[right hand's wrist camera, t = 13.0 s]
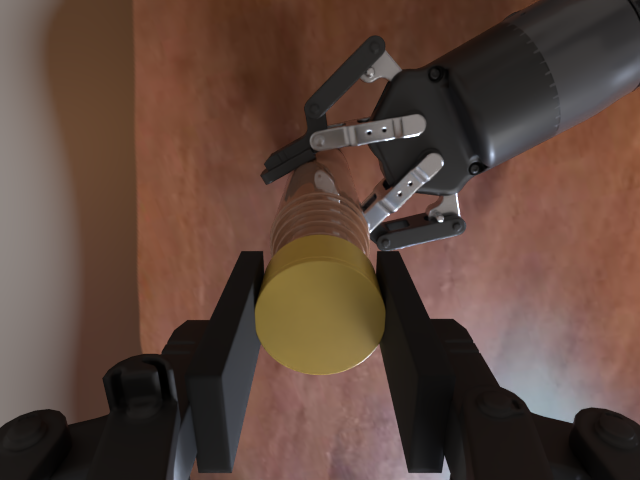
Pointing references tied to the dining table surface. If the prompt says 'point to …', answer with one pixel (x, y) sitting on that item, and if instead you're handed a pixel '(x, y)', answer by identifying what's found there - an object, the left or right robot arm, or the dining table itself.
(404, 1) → the dining table surface
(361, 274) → the cap
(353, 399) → the dining table surface
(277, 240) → the bottle
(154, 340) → the dining table surface
